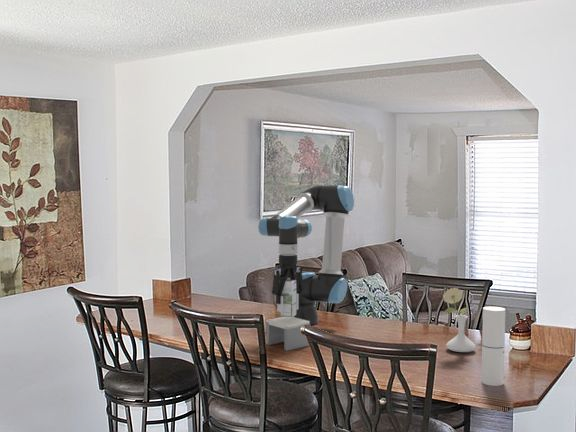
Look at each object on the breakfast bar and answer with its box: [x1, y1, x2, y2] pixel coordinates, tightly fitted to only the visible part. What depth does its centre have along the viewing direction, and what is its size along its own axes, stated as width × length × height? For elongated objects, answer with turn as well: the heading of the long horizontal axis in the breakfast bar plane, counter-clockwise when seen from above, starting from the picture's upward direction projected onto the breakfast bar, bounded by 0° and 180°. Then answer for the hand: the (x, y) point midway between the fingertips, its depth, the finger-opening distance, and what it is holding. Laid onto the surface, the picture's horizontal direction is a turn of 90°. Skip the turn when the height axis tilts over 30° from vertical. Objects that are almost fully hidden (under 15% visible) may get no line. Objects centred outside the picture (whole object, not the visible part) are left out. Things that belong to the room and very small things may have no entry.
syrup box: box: [278, 278, 296, 317], centre depth 269 cm, size 6×6×14 cm
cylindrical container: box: [480, 306, 506, 387], centre depth 222 cm, size 7×7×25 cm
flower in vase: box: [442, 287, 477, 353], centre depth 261 cm, size 13×11×25 cm
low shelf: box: [265, 316, 311, 351], centre depth 270 cm, size 13×12×10 cm
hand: (287, 310), depth 269 cm, fingers closed on syrup box, 7 cm apart
